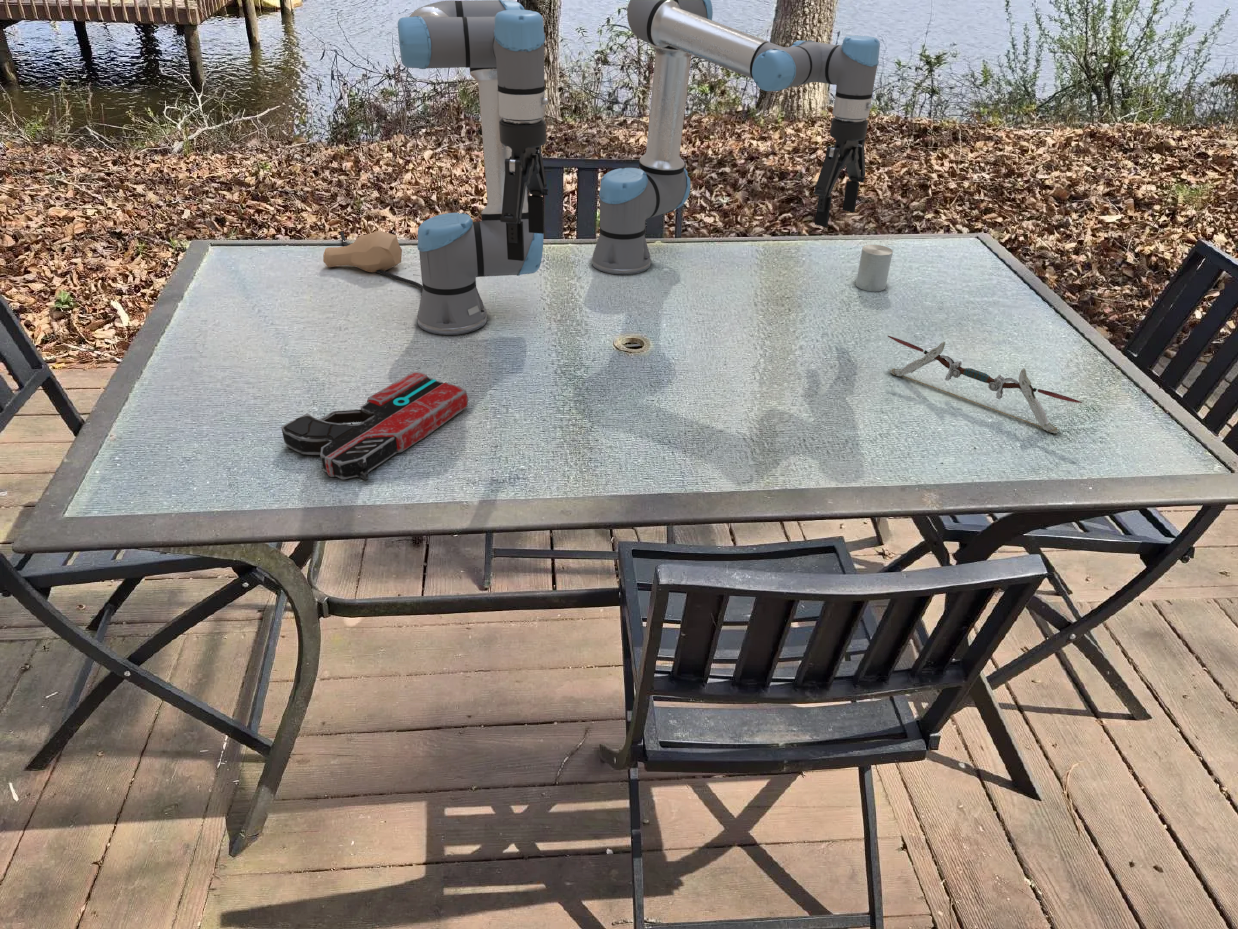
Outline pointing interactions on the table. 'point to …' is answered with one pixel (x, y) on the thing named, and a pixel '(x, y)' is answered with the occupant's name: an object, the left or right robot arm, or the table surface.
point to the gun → (376, 425)
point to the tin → (874, 268)
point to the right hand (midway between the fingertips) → (835, 218)
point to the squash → (367, 252)
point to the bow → (994, 384)
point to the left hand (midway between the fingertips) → (526, 245)
